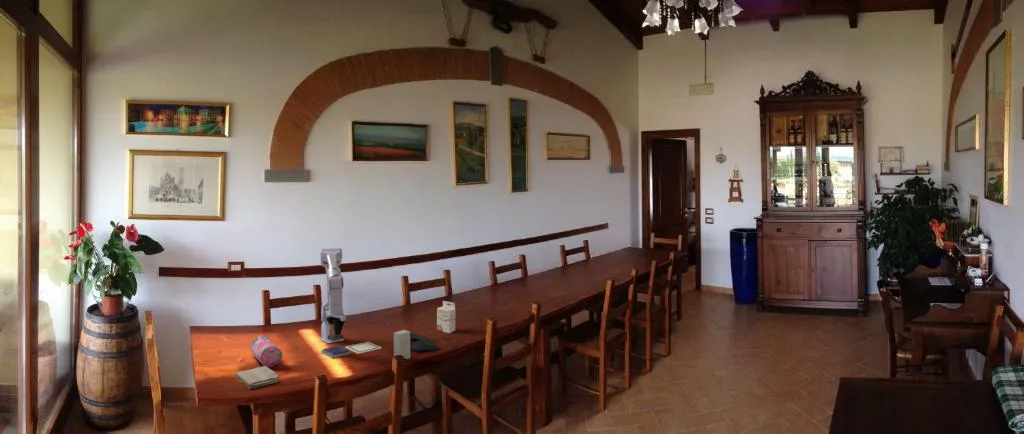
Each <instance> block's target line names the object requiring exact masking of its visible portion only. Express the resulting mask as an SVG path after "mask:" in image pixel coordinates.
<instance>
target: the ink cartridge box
mask: <svg viewBox="0 0 1024 434" xmlns="http://www.w3.org/2000/svg"><path fill="white" fill-rule="evenodd" d="M436 331H439V332H443V333H446V334H451V333H453V331H454V332H456V303H455V302H452V301H446V300H442V306H440V307H437V308H436Z"/></svg>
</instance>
